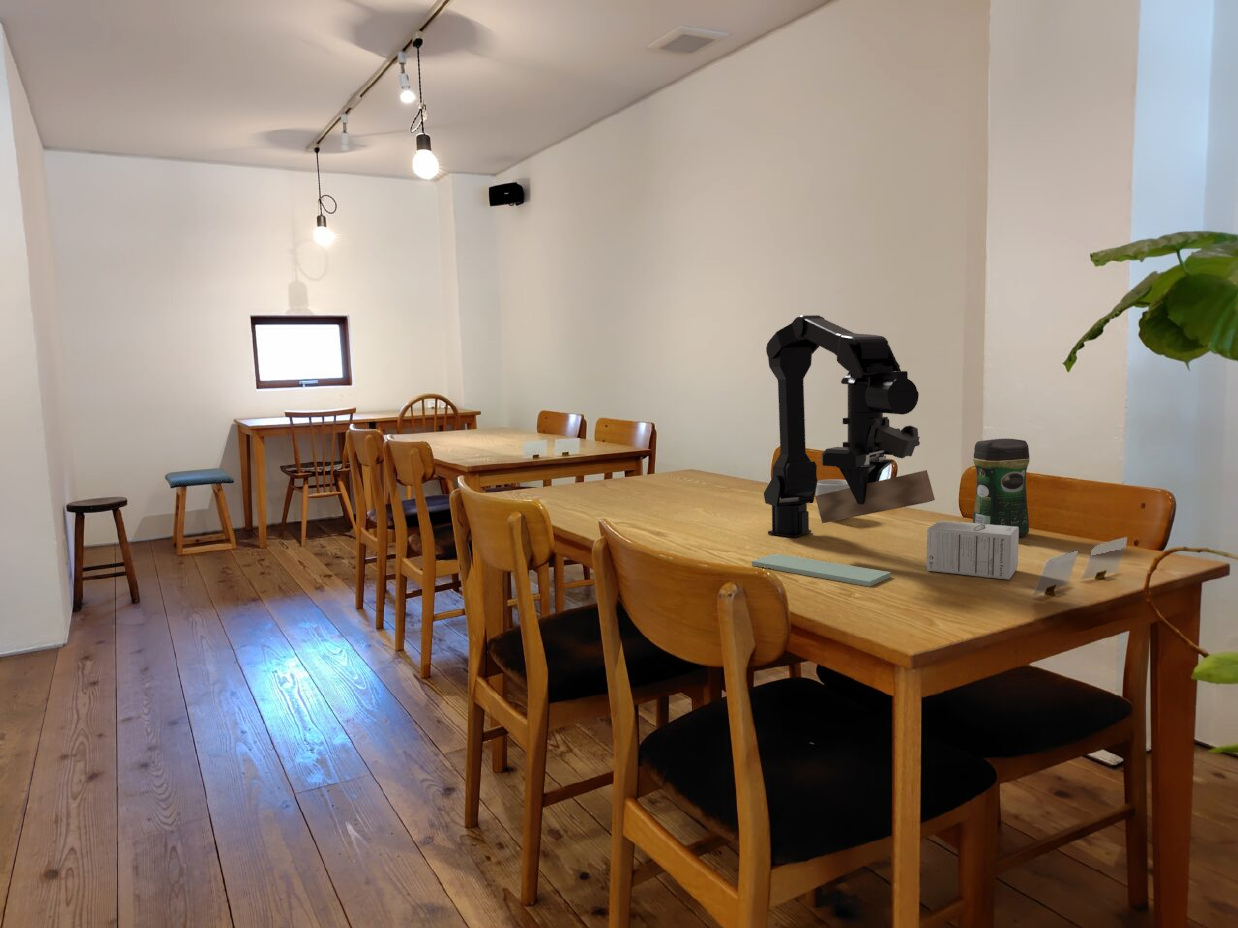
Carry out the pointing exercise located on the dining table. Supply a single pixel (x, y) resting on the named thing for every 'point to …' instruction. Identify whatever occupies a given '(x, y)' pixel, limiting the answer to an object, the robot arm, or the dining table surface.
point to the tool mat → (823, 569)
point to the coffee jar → (1001, 483)
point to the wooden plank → (876, 497)
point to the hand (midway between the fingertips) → (865, 502)
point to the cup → (830, 486)
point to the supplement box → (973, 549)
